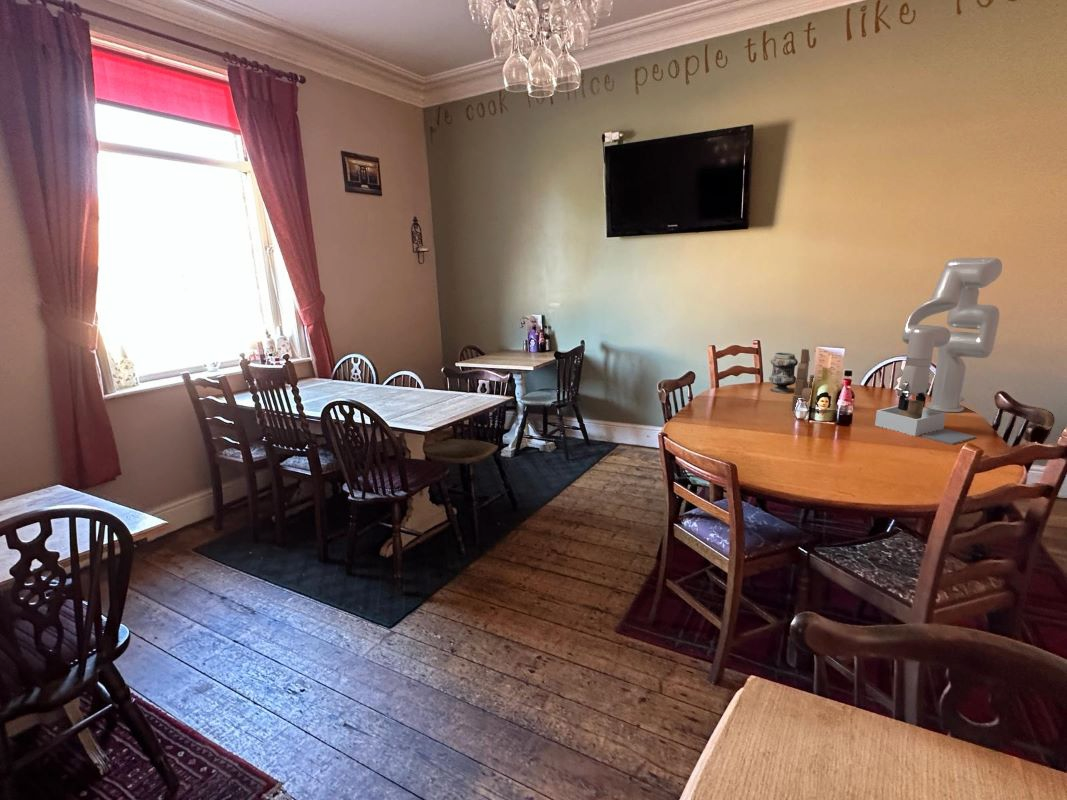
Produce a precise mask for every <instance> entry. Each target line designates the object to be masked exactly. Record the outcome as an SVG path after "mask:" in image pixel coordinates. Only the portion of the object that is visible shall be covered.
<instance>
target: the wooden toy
mask: <svg viewBox="0 0 1067 800" xmlns="http://www.w3.org/2000/svg"><path fill="white" fill-rule="evenodd" d="M810 361H811V358H810V351H809V349H805V348H803V349H801V353H800V362H798V364H797V370H796V382H795V383H794V394H793V395H792V404H791V411H794V410H795V407H796V403H797V400H798V398H804V399H805V400H806V401H809V399H810V395H811V390H812V382H813V378H814V375H815V374H811V375H809V367H810V366H809V365H810ZM808 376H809V382H808ZM794 412H795V411H794Z"/></svg>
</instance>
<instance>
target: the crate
mask: <svg viewBox="0 0 1067 800" xmlns="http://www.w3.org/2000/svg"><path fill="white" fill-rule="evenodd" d="M899 413H900V409H898V405H895V406H891V407H885V408H881V409H878V410H876V414H875V421H874V422H875V423H874V426H876V427H878V426H879V427H878V428H882V427H883V429H886V428H887V429H886V430H890V429H891V430H890V431H893V430H895V431H894V432H897V431H899V432H898V433H901V432H902V434H905V433H906V434H905V435H908V434H909V436H912V435H913V436H912V437H918V436H921V434H922V435H923V434H924V433H926V434H927V433H928V432H930V433H931V432H933V431H934V432H935V431H936V430H937V431H939V430H942V429H945V428H944V426H945V422H946V415H947V412H943V411H937V410H932V409H929V408H926V407H923V411H922V417H921V418H919V419H914V418H909V417H905V416H901V415H899Z"/></svg>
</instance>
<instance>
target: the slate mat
mask: <svg viewBox="0 0 1067 800" xmlns="http://www.w3.org/2000/svg"><path fill="white" fill-rule="evenodd" d="M924 437H925V438H924ZM920 438H924V439H928V438H929V439H928V440H931V439H932V441H935V440H936V442H939V443H943V444H947V445H950V444H953V445H956V444H955V443H957V444H959V443H958V442H960V441H964V442H966V441H965V440H968V439H971V440H973V439H972V438H975V439H977V435H972V434H969V433H968V434H967V433H963V432H960V431H956V430H951V429H947V428H944V429H941V430H937V431H934V432H930V433H926V434H922V435H920ZM968 441H969V440H968Z"/></svg>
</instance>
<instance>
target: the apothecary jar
mask: <svg viewBox="0 0 1067 800" xmlns="http://www.w3.org/2000/svg"><path fill="white" fill-rule="evenodd" d="M770 364H771V365H772V370H771V371H772V372H771V374H770V375H769V376H768V380H769V382H770V383H771V384H773V385H775V386H774V387H772V388H770V391H771V392H773V393H779V394H789V393H793V392H794V389H792V388H790V387H788V386H792V385H795V382H796V379H797V376H795V369H796V366H798V364H799V360H798V359H797V358H796V354H795V353H792V352H785V351H784V352H782V351H778V352H775V353H774V357H772V358H771V359H770Z"/></svg>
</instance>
